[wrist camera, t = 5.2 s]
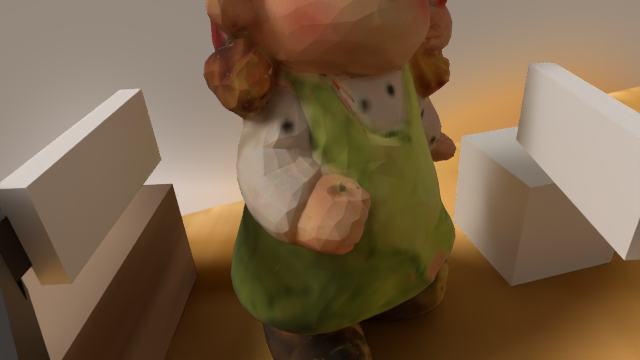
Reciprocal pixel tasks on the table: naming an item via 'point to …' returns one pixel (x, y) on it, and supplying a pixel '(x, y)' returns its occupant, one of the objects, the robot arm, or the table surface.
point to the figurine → (335, 164)
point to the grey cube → (520, 212)
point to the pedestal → (122, 287)
